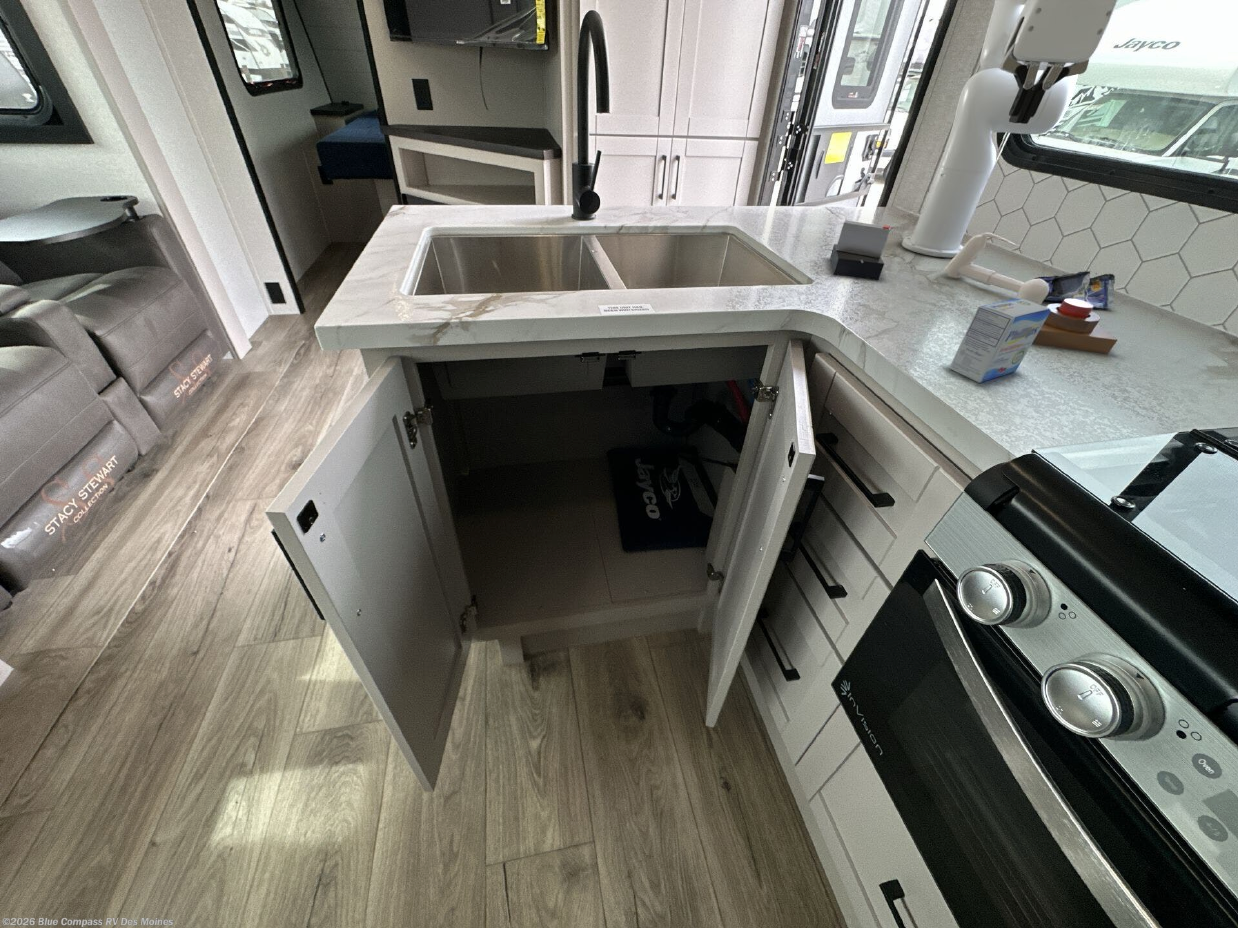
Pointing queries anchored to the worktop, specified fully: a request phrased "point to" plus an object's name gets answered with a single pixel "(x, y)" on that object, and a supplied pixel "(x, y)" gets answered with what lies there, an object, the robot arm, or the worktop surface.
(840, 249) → the grey rectangular slab
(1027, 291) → the faucet
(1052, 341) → the button block
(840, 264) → the lever base
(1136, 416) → the worktop surface
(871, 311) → the worktop surface
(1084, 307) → the button
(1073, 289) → the snack package
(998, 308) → the medicine box
